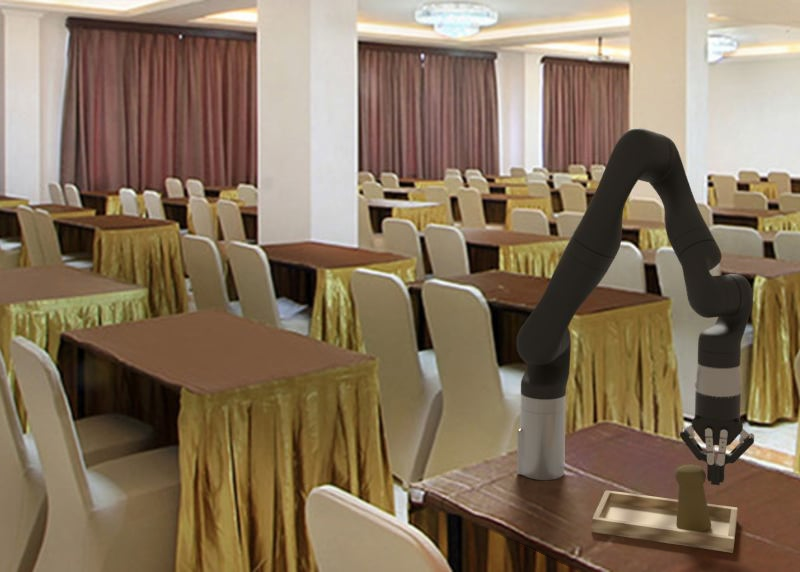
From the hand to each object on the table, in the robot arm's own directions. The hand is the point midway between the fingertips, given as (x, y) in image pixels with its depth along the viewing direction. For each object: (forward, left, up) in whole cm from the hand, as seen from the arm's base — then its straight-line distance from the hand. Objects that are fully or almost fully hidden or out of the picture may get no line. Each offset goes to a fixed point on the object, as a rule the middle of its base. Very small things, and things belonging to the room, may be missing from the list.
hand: (715, 483), depth 169 cm
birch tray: (-8, 0, -9) cm, 13 cm away
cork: (-3, 0, -9) cm, 9 cm away
